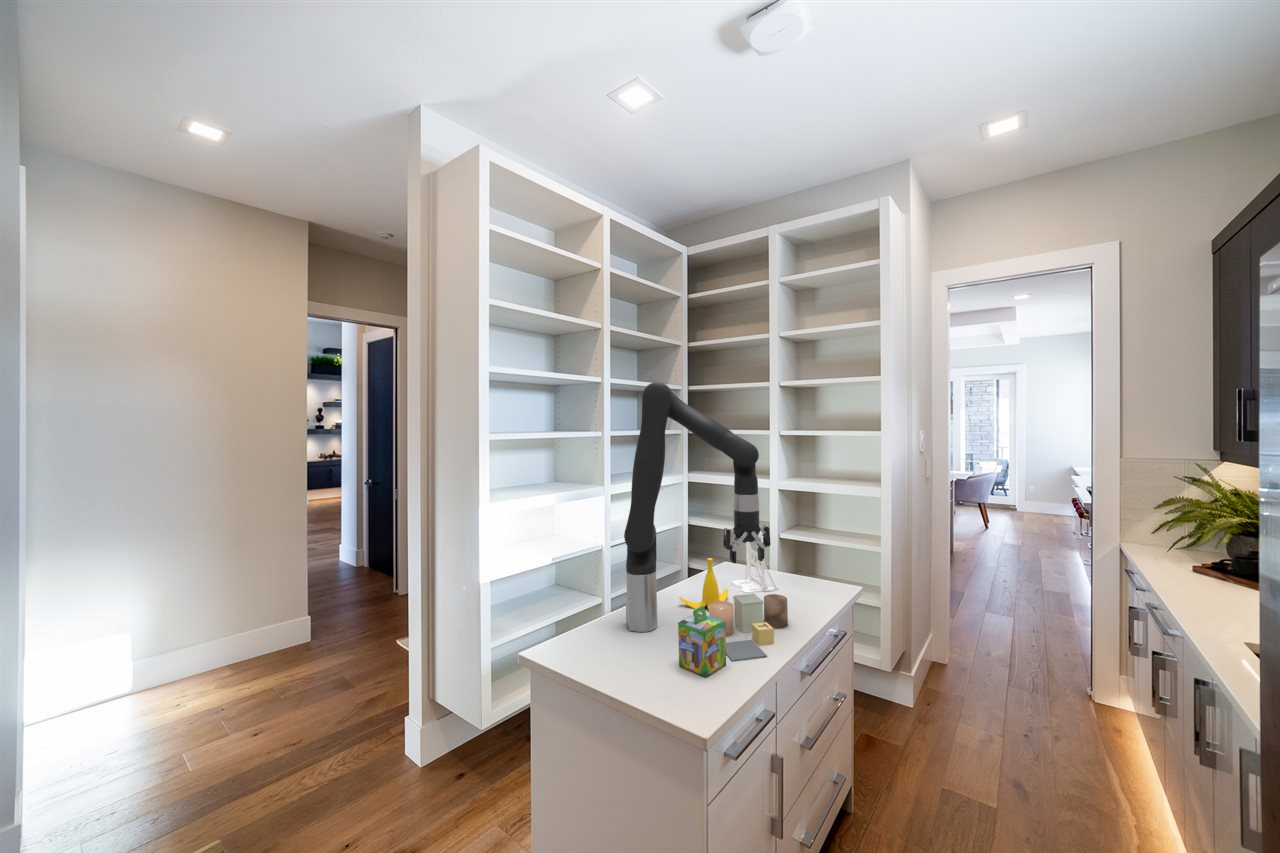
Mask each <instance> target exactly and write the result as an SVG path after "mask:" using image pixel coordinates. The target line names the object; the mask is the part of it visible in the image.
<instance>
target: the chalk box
mask: <svg viewBox="0 0 1280 853" xmlns="http://www.w3.org/2000/svg"><path fill="white" fill-rule="evenodd" d="M692 614H693V615H691V616H689V617H686V618H684V619H682V620H680V621H678V622H677V626H678V628H677V632H678V666H679V667H681V668H684V669H686V670H688V671H691V672H694V673H696V674H698V675H701V676H703V677H705V678H707V677H708V676H710V675H711V674H713V673H714V672H717V671H718V670H720V669H721V668H723V667H724V666H726V665H727V655H726V643H727V642H726V641H727V640H726V638H727V637H726V627H725V622H724V621H721V620H718V619H715V618H714V617H711V616H710V615H707V613H706V608H705V607H704V606H701V607H699V608H697V609H693V612H692Z"/></svg>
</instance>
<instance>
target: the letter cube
mask: <svg viewBox="0 0 1280 853" xmlns="http://www.w3.org/2000/svg"><path fill="white" fill-rule="evenodd" d="M774 631H775V629H774V628H773V627H771V626H770V625H769V624H768V623H767V622H764V621H763V623H755V624H752V632H751V636H752V637H751V640H753V642H754V643H755V644H756V645H757V646H758V647H760V646H769V645H774V644H775V635H774V634H775V632H774Z"/></svg>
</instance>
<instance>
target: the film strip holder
mask: <svg viewBox="0 0 1280 853" xmlns="http://www.w3.org/2000/svg"><path fill="white" fill-rule="evenodd" d="M758 537H759V538H760V540H761V541H762V543H763V535H761V534H760V533H759V534H758ZM745 547H746V550H745V562H746V567H745V568H746V569H745V573H746V579H739V580H732V581H731V584H732V585H733V586H735V587H738V588H739V587H740V589H739V590H740V592H741V593H744V594H755V593H761V592H762V593H768V592H775V591H777V590H779V589H780V588H779V587H778V586H777V585H776V583H775V581H774V580H773V577H772V574H771V573H770V572H769V569H768V568H767V566H766V565H767V564H766V562H765V558H764V559H763V561H759V560H758V551H755V550H753V549H752V545H751V542H746V543H745ZM760 563H761V564H760ZM752 566H753V567H754V568H755V570H756V572H757V574H758V576H754V575H752V574H753V573H752V570H751V568H752ZM765 570H766V572H767V575H768V577H769V579H770V581H771V584H772V586H770V587H769V586H767V587H766V583H765V582H766V580H765V579H766V578H765V577H766V575H765V574H766V573H765Z"/></svg>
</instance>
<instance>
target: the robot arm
mask: <svg viewBox="0 0 1280 853" xmlns="http://www.w3.org/2000/svg"><path fill="white" fill-rule="evenodd" d="M641 394H642V395H641V423H640V424H641V425H640V431H639V435H638V440H637V445H636V448H635V454H634V459H633V465H632V466H633V468H632V475H631V476H632V477H631V491H630V492H631V498H630V509H629V511H628V512H629V513H628V517H627V521H626V526H625V529H624V534H623V535H624V536H623V538H624V542H625V545H626V561H625V562H626V563H625V572H626V578H625V579H626V593H625V621H626V622H625V623H626V626H627V628H628V629H627V630H628V631H629V632H637V633H646V632H651V631H654V630H656V629H657V627H658V599H657V596H658V595H657V593H658V592H657V590H658V589H657V587H658V586H657V530H656V526H655V510H656V505H657V500H658V499H659V498H658V497H659V493H660V491H661V486H662V481H663V476H664V468H665V459H666V458H665V457H666V427H667V422H668V419H671V420H673V421H675V422H676V423H678V424H680V425H681V426H682V427H684V428H685V429H687V430H688V431H689V432H691V434H693V435H694V436H696V437H697V438H699V439H700V440H702V441H703V442H705V443H706V444H708V445H709V446H711V447H712V448H714V449H716V450H717V451H719V452H722V453H723V454H725V456H727V457H728V458H730V459H731V460H732V463H733V464H732V466H733V474H734V480H733V485H734V486H733V487H734V491H733V492H734V495H733V506H732V507H733V528H727V527H724V529H723V539H722V540H723V544H722V545H723V548H724V549H726V550H729V561H730V562H732V564H736V563H737V548H738V547H739V546H741V544H742V543H744V544H746V542H750V543H753V542H754V543H755V544H756V545H757V546H758V547H757V553H758V560H759V562H761V561H763V559H764V560H765V549H766V548H767V547H771V544H772V543H771V532H770V530H771V529H770V527H769V526H767V525H762V526H760V500H759V499H760V498H759V481H758V476H757V474H756V473H757V471H756V470H757V469H756V467H757V466H756V464H757V462H758V460H759V458H760V454H759V453H760V452H759V450H758V448H757V447H756V446H755V445H754V444H752V443H751V442H749V441H747V440H746V439H745V438H742V437H741V436H738V435H737V434H735V433H734V432H733V431H731V430H730V429H729V428H727V427H725V426H724V425H723V424H721V423H719V422H718V421H716V420H715V419H713V418H711V417H709V416H707V415H705V414H704V413H702V412H700V411H698V410H696V409H695V408H693V406H690V405H689V404H687V403H685V402H684V401H683V400H682V399H681V398H679V397H678V396H677V395H676V393H674V392H673V391H672V390H671V388H670V387H669V386H668V385H667V384H665V383H663V382H661V381H654V382H651V383H649V384H648V385H647V386H646V387H645V388H644V389H643V391H642V393H641ZM760 533H761V534H762V536H763V543H762V541H761V538H759V537H758V534H759V535H760ZM733 534H734V537H733V538H732V541H731V537H732V536H733Z"/></svg>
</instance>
